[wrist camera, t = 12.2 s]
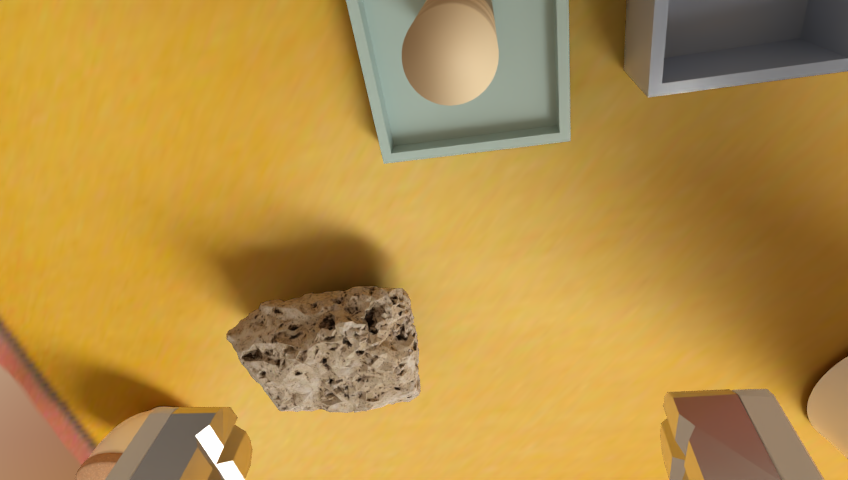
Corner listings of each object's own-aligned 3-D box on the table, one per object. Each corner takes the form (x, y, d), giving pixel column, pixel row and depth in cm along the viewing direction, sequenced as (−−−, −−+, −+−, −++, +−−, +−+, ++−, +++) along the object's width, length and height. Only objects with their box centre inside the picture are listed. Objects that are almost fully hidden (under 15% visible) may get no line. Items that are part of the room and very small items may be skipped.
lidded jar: (116, 430, 54) (54, 518, 46) (135, 375, 48) (69, 465, 40) (210, 467, 56) (167, 556, 48) (239, 418, 50) (195, 511, 43)
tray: (559, -191, 23) (565, -200, 21) (565, 127, 31) (570, 141, 29) (325, -137, 25) (313, -140, 23) (389, 149, 33) (383, 163, 31)
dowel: (489, -31, 25) (494, -4, 17) (496, 42, 27) (502, 98, 19) (420, -19, 26) (392, 13, 18) (431, 52, 28) (411, 111, 20)
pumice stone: (271, 355, 45) (235, 432, 38) (245, 245, 38) (196, 316, 32) (425, 366, 44) (416, 447, 37) (426, 255, 37) (414, 331, 30)
